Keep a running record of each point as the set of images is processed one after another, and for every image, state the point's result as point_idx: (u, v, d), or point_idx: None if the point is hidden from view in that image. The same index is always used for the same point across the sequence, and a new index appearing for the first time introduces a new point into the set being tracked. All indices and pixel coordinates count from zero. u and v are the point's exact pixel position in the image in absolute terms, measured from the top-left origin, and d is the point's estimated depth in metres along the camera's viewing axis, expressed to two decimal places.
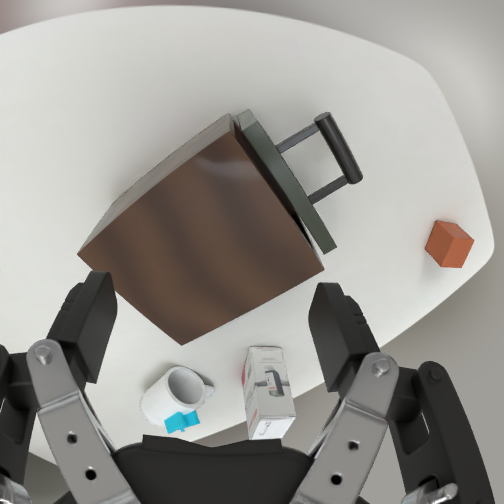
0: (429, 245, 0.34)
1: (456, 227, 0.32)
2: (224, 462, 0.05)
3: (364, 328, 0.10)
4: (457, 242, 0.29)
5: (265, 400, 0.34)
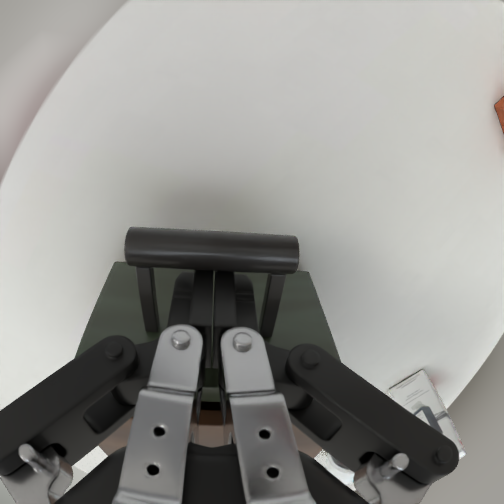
0: None
1: None
2: (224, 462, 0.05)
3: (248, 305, 0.10)
4: None
5: None
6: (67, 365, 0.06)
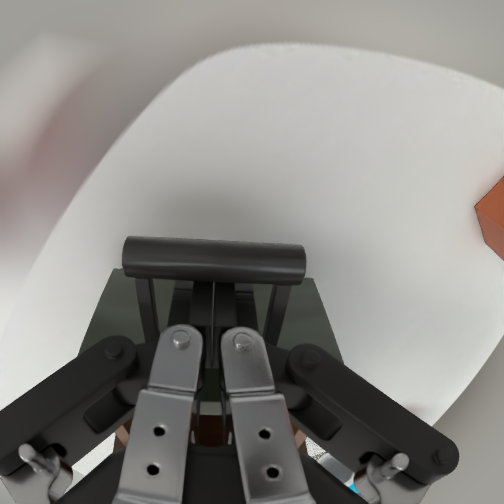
0: (487, 240, 0.17)
1: None
2: (224, 462, 0.05)
3: (248, 305, 0.10)
4: None
5: None
6: (67, 365, 0.06)
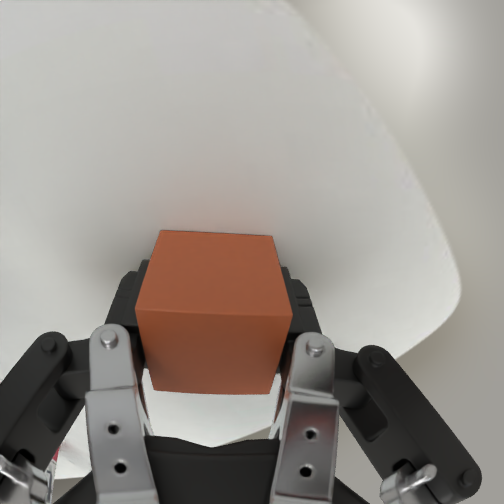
0: None
1: (247, 249, 0.10)
2: (224, 462, 0.05)
3: (308, 310, 0.10)
4: (173, 327, 0.08)
5: None
6: (12, 370, 0.06)
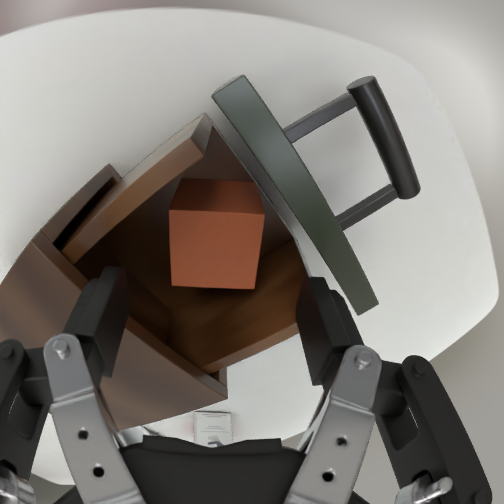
0: None
1: (238, 187, 0.16)
2: (224, 462, 0.05)
3: (348, 322, 0.10)
4: (191, 224, 0.13)
5: None
6: None
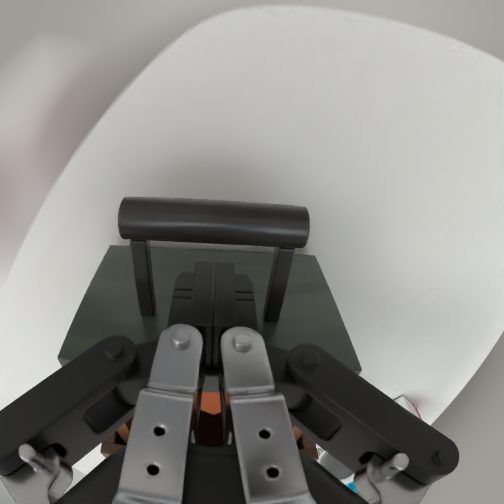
0: None
1: None
2: (224, 462, 0.05)
3: (248, 305, 0.10)
4: None
5: None
6: (67, 365, 0.06)
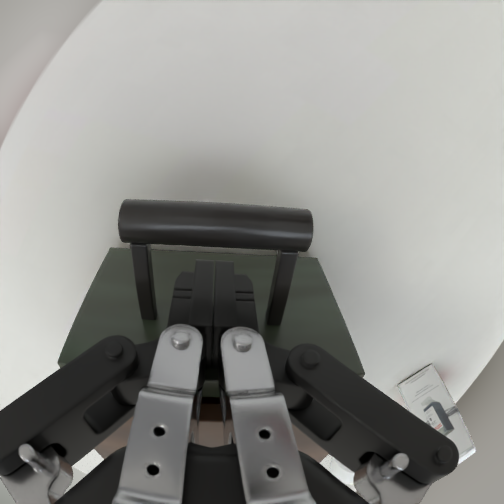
0: None
1: None
2: (224, 462, 0.05)
3: (248, 305, 0.10)
4: None
5: None
6: (67, 365, 0.06)
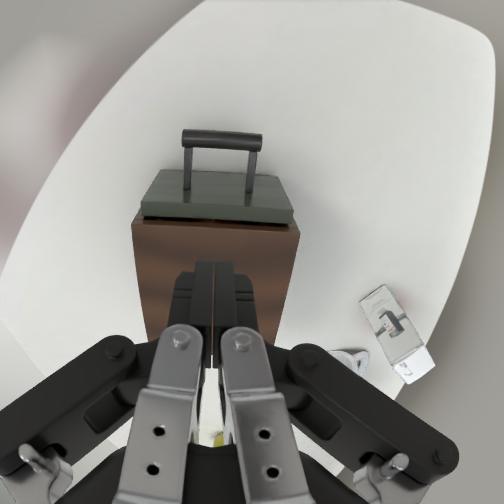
0: None
1: None
2: (224, 462, 0.05)
3: (248, 305, 0.10)
4: None
5: (389, 345, 0.32)
6: (67, 365, 0.06)
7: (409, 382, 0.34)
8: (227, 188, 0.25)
